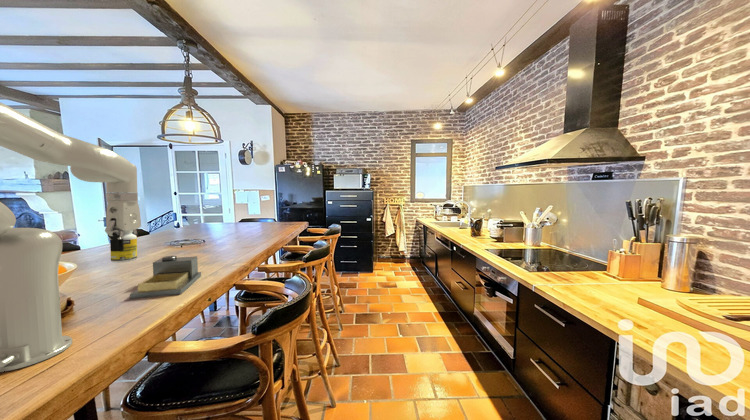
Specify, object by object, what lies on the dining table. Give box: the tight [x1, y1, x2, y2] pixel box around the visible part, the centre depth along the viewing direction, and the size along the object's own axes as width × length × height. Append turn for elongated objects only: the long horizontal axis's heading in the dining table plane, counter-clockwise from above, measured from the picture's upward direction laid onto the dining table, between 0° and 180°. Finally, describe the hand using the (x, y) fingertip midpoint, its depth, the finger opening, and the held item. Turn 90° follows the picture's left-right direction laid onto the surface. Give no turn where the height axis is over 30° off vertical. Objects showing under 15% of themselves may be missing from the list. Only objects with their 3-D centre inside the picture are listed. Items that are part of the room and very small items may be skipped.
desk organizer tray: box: [129, 255, 202, 300], centre depth 103 cm, size 22×16×11 cm
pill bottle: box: [110, 229, 138, 264], centre depth 85 cm, size 6×6×12 cm
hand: (124, 248), depth 85 cm, fingers closed on pill bottle, 6 cm apart
